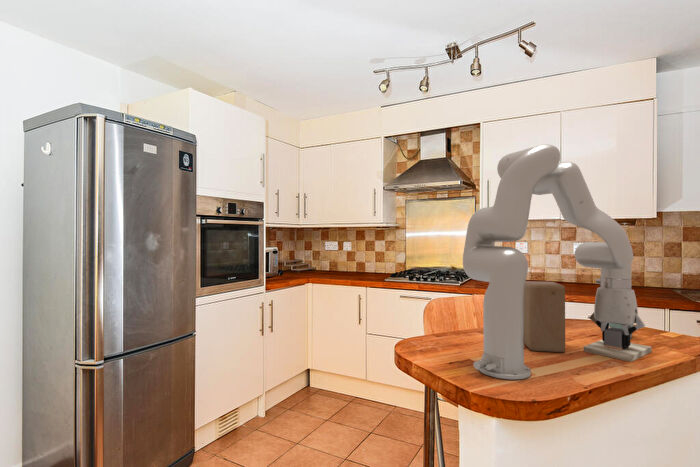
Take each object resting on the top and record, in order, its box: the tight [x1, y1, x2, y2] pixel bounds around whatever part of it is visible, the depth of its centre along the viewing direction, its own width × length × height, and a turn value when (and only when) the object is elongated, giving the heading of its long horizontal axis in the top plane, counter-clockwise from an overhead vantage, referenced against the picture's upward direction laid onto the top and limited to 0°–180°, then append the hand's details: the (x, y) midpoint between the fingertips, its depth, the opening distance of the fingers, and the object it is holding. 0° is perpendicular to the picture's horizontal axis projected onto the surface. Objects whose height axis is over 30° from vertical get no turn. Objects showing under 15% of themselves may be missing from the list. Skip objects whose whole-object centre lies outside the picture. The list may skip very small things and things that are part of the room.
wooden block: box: [524, 280, 566, 353], centre depth 118 cm, size 10×10×20 cm
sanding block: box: [604, 327, 624, 350], centre depth 114 cm, size 6×4×5 cm, turn 126°
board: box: [582, 339, 653, 363], centre depth 114 cm, size 16×12×2 cm
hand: (616, 345), depth 114 cm, fingers closed on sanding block, 4 cm apart
